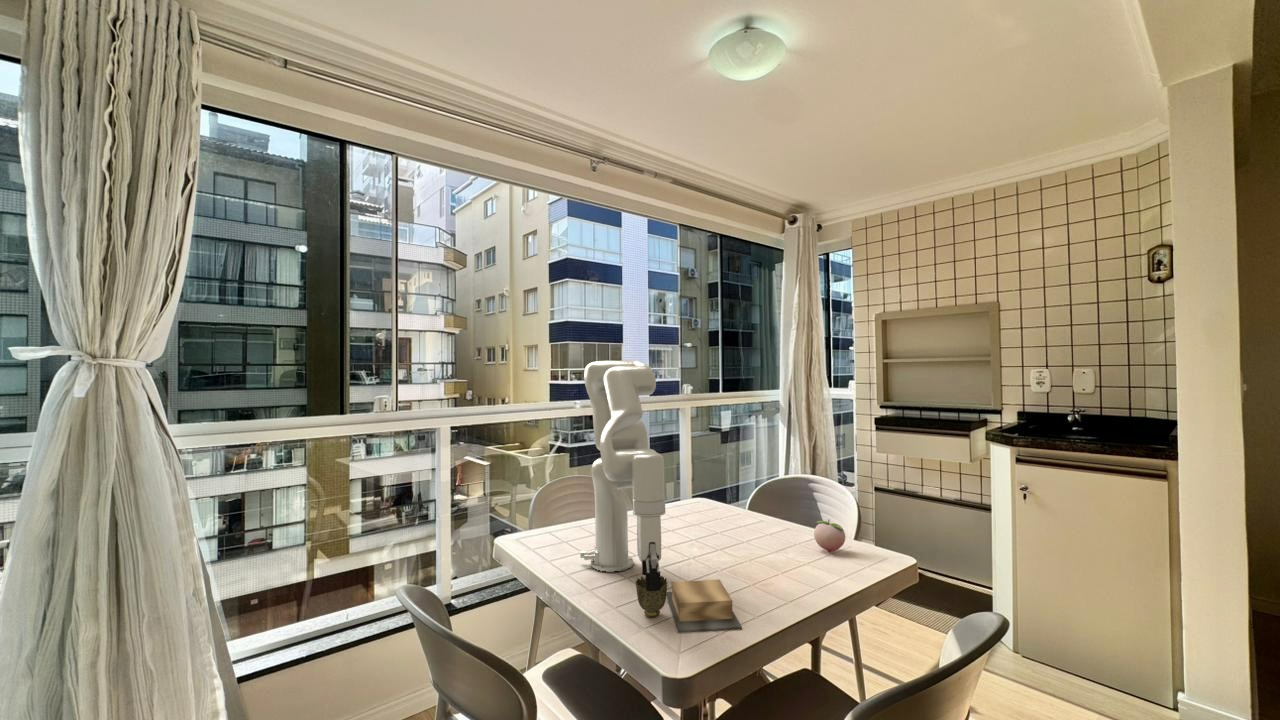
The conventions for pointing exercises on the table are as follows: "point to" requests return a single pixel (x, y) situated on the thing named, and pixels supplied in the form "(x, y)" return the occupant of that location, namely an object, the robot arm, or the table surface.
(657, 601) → the cup
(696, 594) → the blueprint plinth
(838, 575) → the table surface
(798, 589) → the table surface
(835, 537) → the decorative fruit
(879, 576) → the table surface
